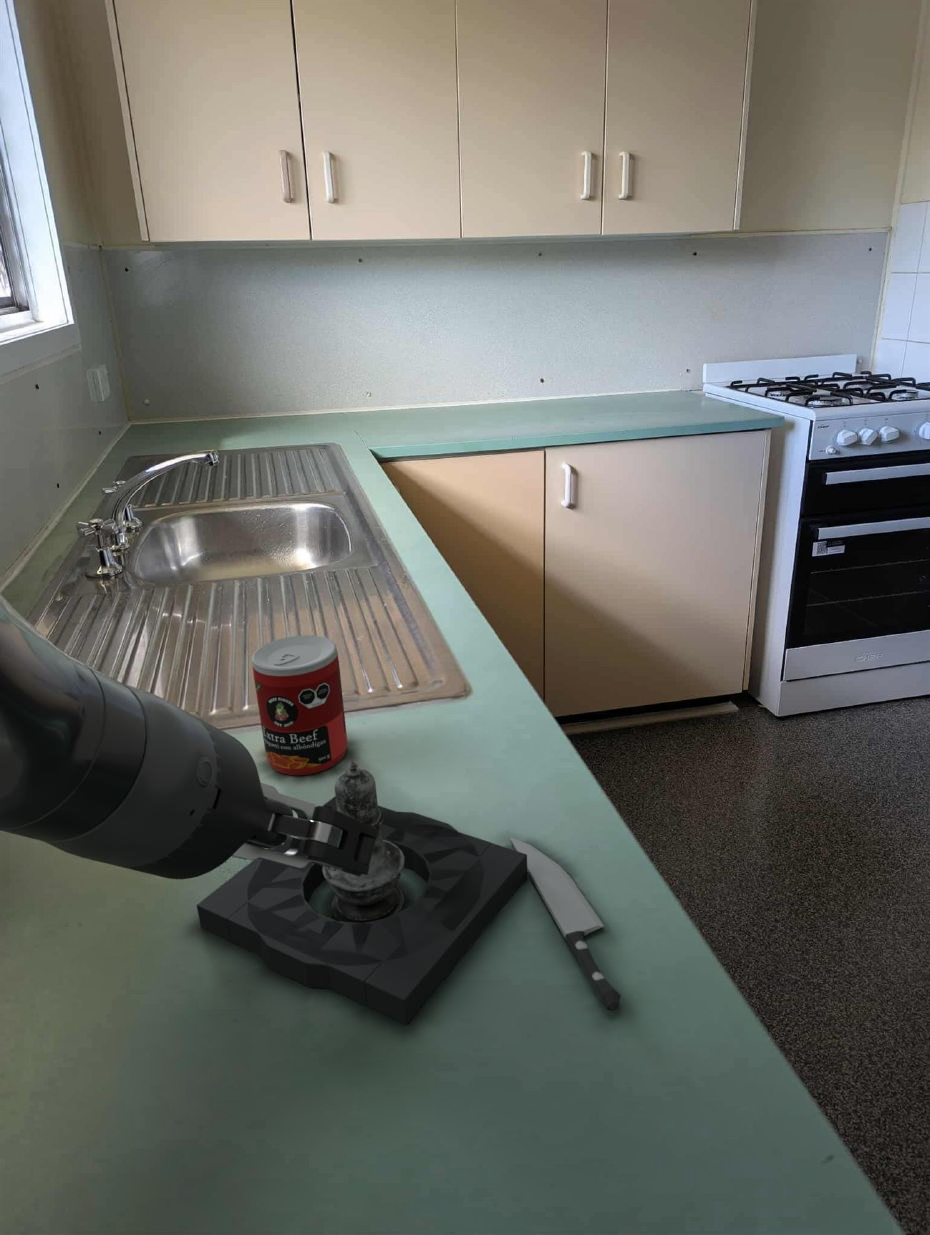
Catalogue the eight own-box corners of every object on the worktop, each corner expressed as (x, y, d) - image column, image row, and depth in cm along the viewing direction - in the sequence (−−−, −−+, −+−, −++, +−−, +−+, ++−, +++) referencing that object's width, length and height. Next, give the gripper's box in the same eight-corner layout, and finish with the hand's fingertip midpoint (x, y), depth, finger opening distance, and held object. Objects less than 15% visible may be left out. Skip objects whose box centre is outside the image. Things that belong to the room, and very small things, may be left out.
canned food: (252, 773, 82) (235, 666, 78) (290, 731, 89) (276, 631, 85) (327, 781, 80) (314, 672, 76) (360, 738, 87) (349, 636, 83)
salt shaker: (312, 921, 62) (292, 777, 58) (350, 871, 68) (334, 734, 63) (387, 938, 60) (372, 790, 56) (420, 885, 66) (409, 745, 61)
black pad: (194, 932, 62) (190, 909, 61) (345, 809, 75) (343, 789, 75) (401, 1031, 53) (399, 1006, 52) (531, 871, 66) (530, 850, 66)
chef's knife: (543, 834, 71) (508, 839, 70) (544, 822, 71) (509, 827, 70) (651, 1009, 54) (606, 1018, 53) (652, 994, 53) (607, 1003, 53)
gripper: (-8, 835, 41) (186, 882, 55) (246, 897, 36) (389, 932, 50) (53, 686, 44) (224, 768, 58) (298, 725, 39) (420, 803, 53)
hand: (300, 844), depth 54 cm, fingers open, 8 cm apart
